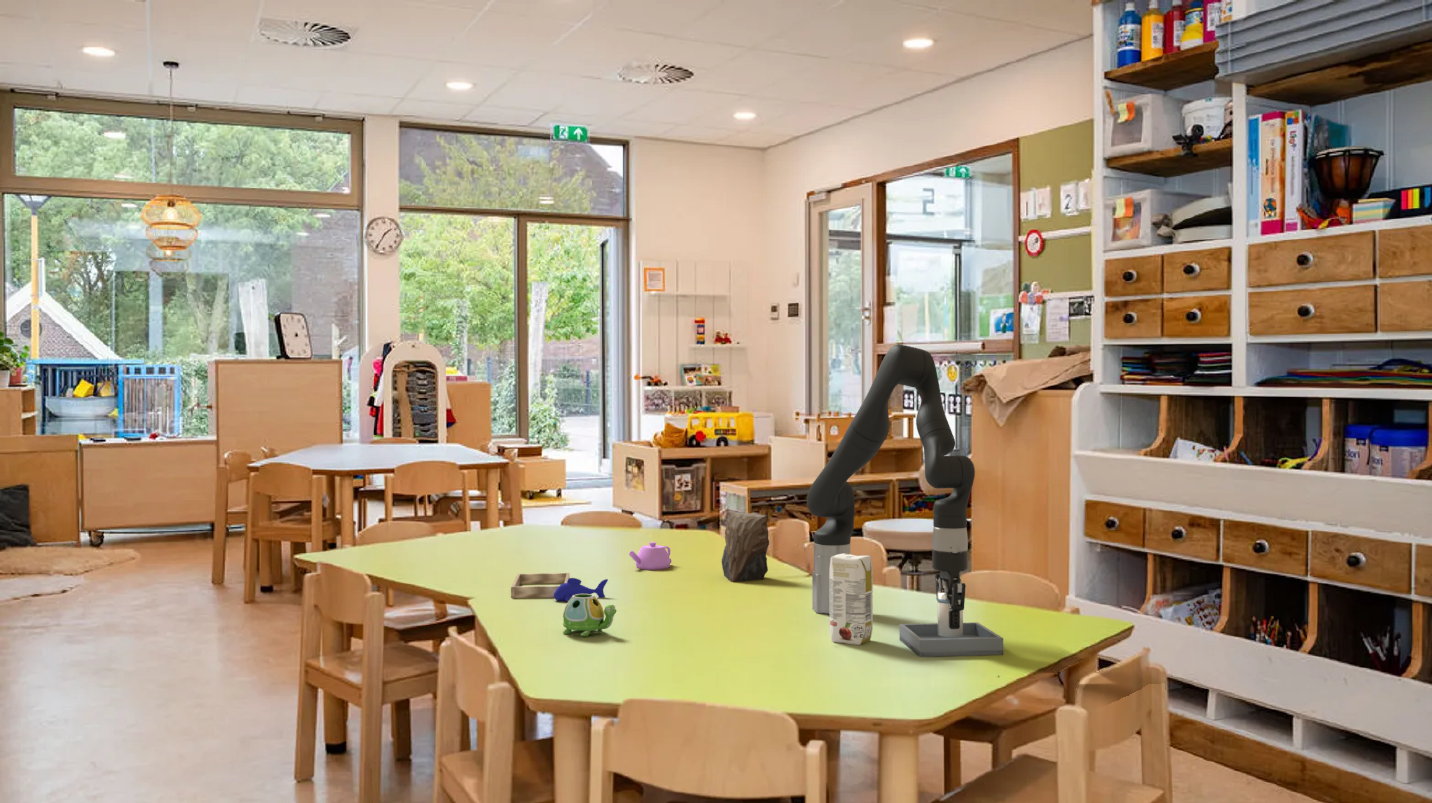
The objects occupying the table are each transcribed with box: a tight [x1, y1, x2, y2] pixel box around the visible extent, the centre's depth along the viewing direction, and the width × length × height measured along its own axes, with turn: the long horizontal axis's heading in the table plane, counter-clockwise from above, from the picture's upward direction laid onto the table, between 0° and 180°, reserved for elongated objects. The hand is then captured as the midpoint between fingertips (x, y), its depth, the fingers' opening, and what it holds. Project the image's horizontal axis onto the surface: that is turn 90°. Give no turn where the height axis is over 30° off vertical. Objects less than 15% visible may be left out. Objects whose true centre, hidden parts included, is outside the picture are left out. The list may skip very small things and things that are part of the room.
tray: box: [899, 621, 1004, 658], centre depth 238 cm, size 18×16×4 cm
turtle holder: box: [562, 593, 617, 637], centre depth 253 cm, size 9×13×9 cm
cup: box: [936, 590, 964, 637], centre depth 238 cm, size 6×6×9 cm
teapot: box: [628, 541, 672, 571], centre depth 338 cm, size 10×15×9 cm
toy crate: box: [510, 572, 571, 599], centre depth 302 cm, size 15×22×4 cm
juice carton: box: [829, 553, 874, 646], centre depth 244 cm, size 8×9×19 cm
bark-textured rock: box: [721, 511, 770, 583], centre depth 323 cm, size 13×13×20 cm
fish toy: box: [553, 577, 609, 602], centre depth 290 cm, size 15×8×7 cm, turn 116°
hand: (950, 625), depth 238 cm, fingers closed on cup, 5 cm apart
